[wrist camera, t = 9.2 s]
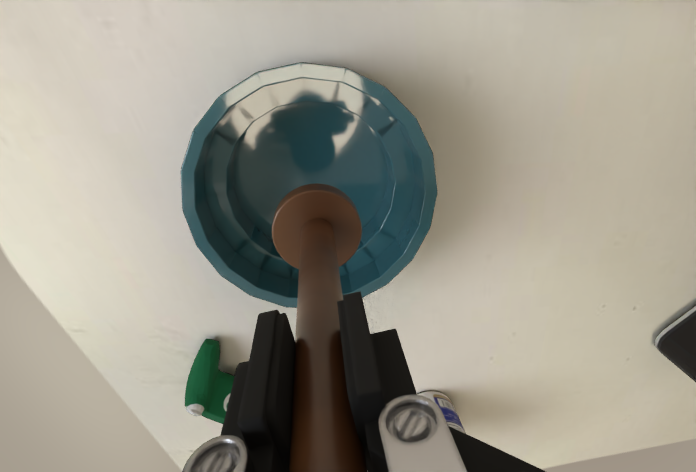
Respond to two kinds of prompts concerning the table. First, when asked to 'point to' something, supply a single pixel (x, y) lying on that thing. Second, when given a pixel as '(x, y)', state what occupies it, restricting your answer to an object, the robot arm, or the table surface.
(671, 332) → the camera
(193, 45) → the table surface
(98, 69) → the table surface
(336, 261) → the stick
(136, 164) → the table surface
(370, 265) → the bowl
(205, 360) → the gaming controller
